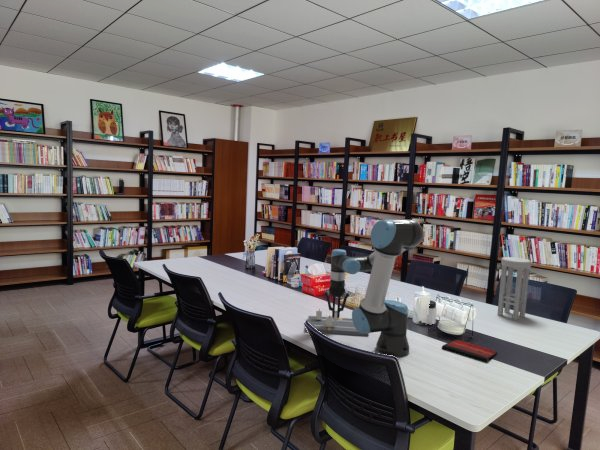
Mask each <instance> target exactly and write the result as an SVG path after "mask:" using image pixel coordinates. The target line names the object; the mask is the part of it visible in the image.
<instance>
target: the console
mask: <svg viewBox="0 0 600 450" xmlns="http://www.w3.org/2000/svg"><path fill="white" fill-rule="evenodd" d="M326 319H327V316H322V320H316V315H315V316H314V315H308V317H307V321H306V323H307V322H309V323H310V324H311V325H312V326H313V327H314V328H316V329H317V330H318V331H320V332H322V333H321V334H329V335H330V334H331V335H347V336H359V337H360V336H361V337H369V335H370V333H369V334H368V333H364V334H362V333H360V332H358V331H357V330H356V328H355V326H354V324H353V320H352V318H347V317H341V316H339V318H337V324H334V317H332V327H326ZM305 333H308V332H307V330H306V329H305Z"/></svg>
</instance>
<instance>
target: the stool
mask: <svg viewBox="0 0 600 450" xmlns="http://www.w3.org/2000/svg"><path fill="white" fill-rule="evenodd" d="M500 265H501V272H500V275H501V276H500V284H499V294H498V295H499V296H498V303H497V305H498V306H497V316H504V313H506V314H509V313H510V310H511V306H513V313H512V320H515V321H518V320H519V317H521V318H524V317H526V307H527V298H528V287H529V279H530V278H529V277H530V269H531V268H532V261H531V260H530V259H527V258H522V257H514V256H506V257H505V256H504V257H501V264H500ZM514 269H517V271H516V281H515V283H516V284H515V293H512V291H513V290H512V288H513V280H514V279H513V278H514Z"/></svg>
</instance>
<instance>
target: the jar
mask: <svg viewBox="0 0 600 450" xmlns="http://www.w3.org/2000/svg"><path fill="white" fill-rule="evenodd" d="M429 300H430V304H429V305H430V306H429V314H428V315H427V324H429V325H428V326H431V325H432V324H433V325H434V324H436V322H437V319H436V318H437V308H436V307H437V302H436V301H435V300H431V299H429ZM427 324H426V325H427ZM433 325H432V326H433Z"/></svg>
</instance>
